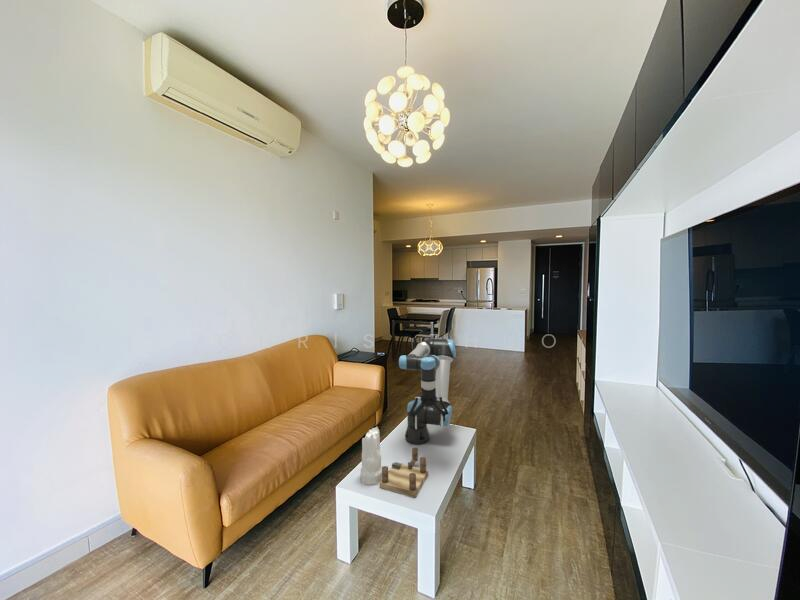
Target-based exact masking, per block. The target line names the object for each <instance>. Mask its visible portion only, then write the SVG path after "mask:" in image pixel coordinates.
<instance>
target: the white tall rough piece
mask: <svg viewBox="0 0 800 600" xmlns="http://www.w3.org/2000/svg"><path fill="white" fill-rule="evenodd" d="M380 437H381V436H380V429H379V427H378V426H376V427H373V428H371V429H368V432H366V434H365V437H362V439H361V446H362V447H361V449H362V451H361V468H360V482H361V483H362V484H364V485H367V486H375V485H377V484H380V481H381V480H382V467H383V466H382V455H381V449H380V448H381V438H380Z"/></svg>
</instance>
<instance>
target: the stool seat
mask: <svg viewBox="0 0 800 600" xmlns="http://www.w3.org/2000/svg"><path fill="white" fill-rule="evenodd" d="M428 477H429V469H427V458H426V457H424V456H421V457H420V458H419V467H418V466H417V467H416V466H413V467H412V468H411V469H409V468H408V464H404V463H400V462H397V461H395V462H392V463H391V468H390V469H389V467H388V466H386V465H383V466H382V480H381V481H380V482H379V488H380V489H382V490H385V491H386V490H387V491H390V492H393V493H397V494H401V495H405V496H408V497H412V498H416V497H417V496H418V494H419V492H420V490H421V489H422V487H423V485H424V483H425V481H426V480H427V478H428Z"/></svg>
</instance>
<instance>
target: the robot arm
mask: <svg viewBox="0 0 800 600" xmlns="http://www.w3.org/2000/svg"><path fill="white" fill-rule="evenodd" d="M456 357H457V350H456V343H455V340H454V339H451V338H450V339H449V338H427V339H424V340H422V341H420V342H418V343H417V345H416V346H415V348H414V349H413V350H412V351H411V352H410V353H409V354H407V355H404V354H403V355H400V357H398V358H399V359H398V366H399V368H400V369H401V370H410V371H420V383H421V384H420V387H421V388H420V395H421V396H415V397H414V400H413V399H412V400H411V401H409V402H408V403H407V408H406V409H407V410H406V412H407V413H406V414H407V427H406V430H405V433H404V440H405V441H406V442H407V443H408V444H411V445H418V446H419V445H423V444H427V443H428V442H429V441H430V436H431V435H430V432H429V430H428V426H427V425H432V426H433V425H435V426H440V428H441V429H444V427H447V426H449V424H450V422H451V418H452V414H453V407H452V405H451V403H450V401H449V385H450V371H451V363H452V362H453V361H454V358H456Z"/></svg>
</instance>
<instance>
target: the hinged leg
mask: <svg viewBox="0 0 800 600" xmlns="http://www.w3.org/2000/svg"><path fill="white" fill-rule="evenodd" d="M411 453H412V454H411V461H410V462H409V461H408V463H407V465H408V468H409V469H411V468H412V467H414V465H415V464H416V462H418V461H419V448H417V447H412V448H411Z"/></svg>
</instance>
